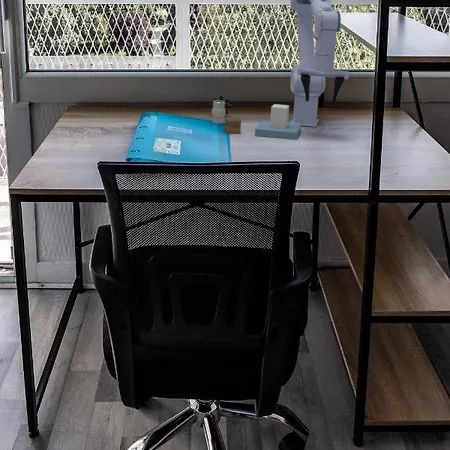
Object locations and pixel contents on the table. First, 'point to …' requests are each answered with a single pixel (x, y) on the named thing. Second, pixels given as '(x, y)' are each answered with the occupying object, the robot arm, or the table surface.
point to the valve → (219, 109)
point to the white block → (279, 116)
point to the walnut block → (232, 125)
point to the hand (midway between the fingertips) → (320, 102)
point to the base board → (278, 130)
